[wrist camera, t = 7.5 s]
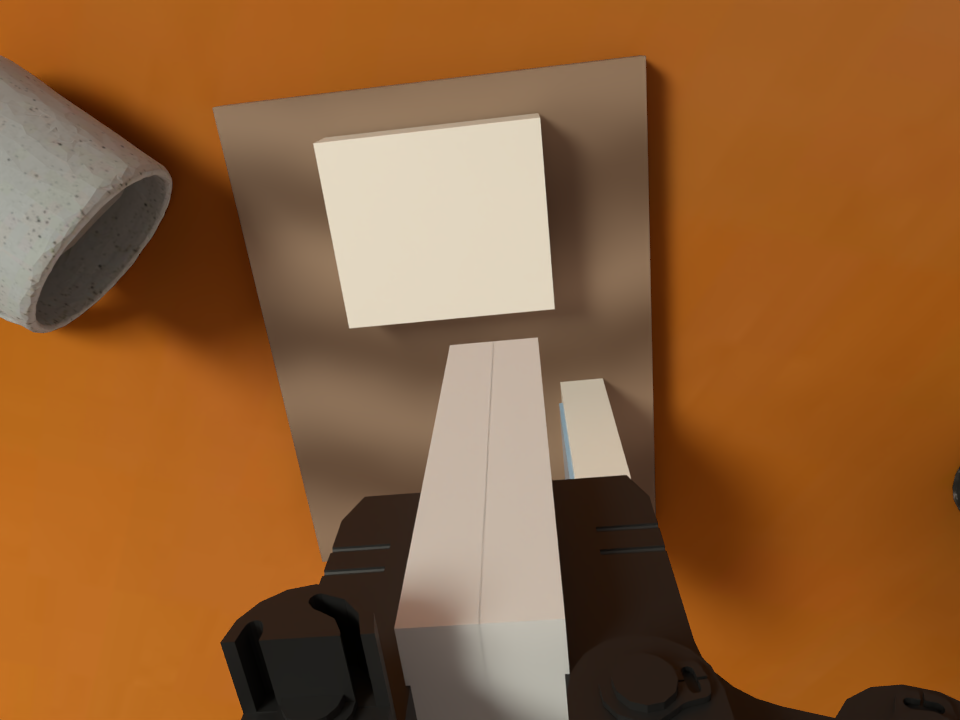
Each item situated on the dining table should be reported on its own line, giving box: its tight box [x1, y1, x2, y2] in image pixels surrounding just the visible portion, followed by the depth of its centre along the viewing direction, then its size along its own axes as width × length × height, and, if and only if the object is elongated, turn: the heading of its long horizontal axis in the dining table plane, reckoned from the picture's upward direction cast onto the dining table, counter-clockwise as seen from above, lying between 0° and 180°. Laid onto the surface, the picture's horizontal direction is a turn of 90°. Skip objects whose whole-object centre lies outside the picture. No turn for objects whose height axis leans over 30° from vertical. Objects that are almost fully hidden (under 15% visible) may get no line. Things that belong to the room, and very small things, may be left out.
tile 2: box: [559, 378, 631, 479], centre depth 29 cm, size 7×2×8 cm, turn 6°
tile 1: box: [313, 113, 555, 328], centre depth 28 cm, size 7×2×8 cm
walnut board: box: [213, 56, 656, 562], centre depth 31 cm, size 21×16×1 cm
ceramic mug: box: [0, 55, 172, 333], centre depth 27 cm, size 11×8×8 cm
